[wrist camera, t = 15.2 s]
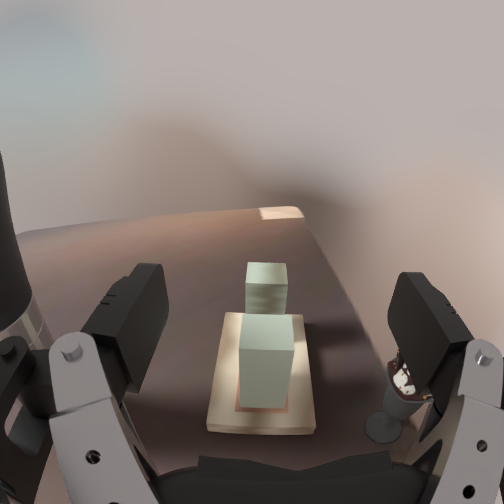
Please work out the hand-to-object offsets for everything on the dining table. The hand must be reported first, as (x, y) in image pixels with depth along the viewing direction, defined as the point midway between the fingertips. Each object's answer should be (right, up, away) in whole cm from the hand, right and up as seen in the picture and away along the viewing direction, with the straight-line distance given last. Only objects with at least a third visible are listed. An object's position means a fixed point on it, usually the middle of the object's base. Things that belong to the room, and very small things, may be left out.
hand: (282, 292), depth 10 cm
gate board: (0, -15, +28) cm, 32 cm away
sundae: (+15, -20, +19) cm, 31 cm away
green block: (0, -15, +23) cm, 27 cm away
